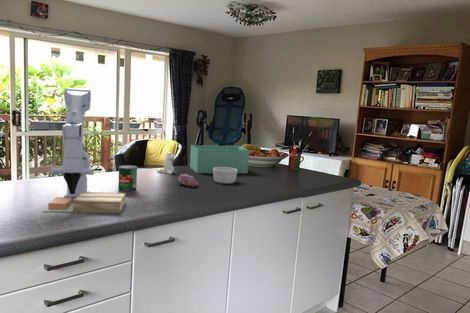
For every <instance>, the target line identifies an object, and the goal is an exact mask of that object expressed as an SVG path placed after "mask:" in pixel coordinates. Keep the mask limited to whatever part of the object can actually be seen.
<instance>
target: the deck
mask: <svg viewBox="0 0 470 313" xmlns="http://www.w3.org/2000/svg"><path fill="white" fill-rule="evenodd" d="M125 205H126V193H123V192H104V191H102V192H101V191H100V192H96V191H95V192H93V191H92V192H90V191H89V192H82V193H81V194H80V195H79V196H78V197H75V198H74V199H73V212H72V213H101V214H102V213H103V214H106V213H107V214H108V213H109V214H112V213H115V214H120V213H121V212H122V209H123V208H124V206H125Z"/></svg>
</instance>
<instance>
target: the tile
mask: <svg viewBox="0 0 470 313" xmlns="http://www.w3.org/2000/svg"><path fill="white" fill-rule="evenodd" d="M73 201H74V197H64V196H61V197H60V196H59V197H58V196H56V197H54V198H53V199H52V200H51V201H49V202H48V206H47V207H48V209H67V208H68V207H69V206H70V205H71V204H72V203H73Z"/></svg>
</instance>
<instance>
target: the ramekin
mask: <svg viewBox="0 0 470 313" xmlns="http://www.w3.org/2000/svg"><path fill="white" fill-rule="evenodd" d="M237 172H238V170H237V169H235V168H229V167H215V168H213V173H212V174H213V180H214V183H219V184H234V183H235V182H236V180H237V175H238V173H237Z"/></svg>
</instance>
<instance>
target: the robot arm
mask: <svg viewBox="0 0 470 313" xmlns="http://www.w3.org/2000/svg"><path fill="white" fill-rule="evenodd" d="M91 91H92V90H91V88H78V87H77V88H75V87H65V88H64V91H63V93H64V94H63V95H64V97H63V98H64V103H65V104H64V105H65V107H66V109H67V110H68V111H67V112H66V116H65V122H64V124H63V125H62V132H61V133H62V138H63V139H62V141H63V142H62V143H63V144H62V145H63V160H62V161H63V162H62V167H51V168H50V174H51V175H54V174H62V175H63V179H64V181H65V183H66V194H64V195H63V197H70V198H77V197H78V196H79V195H80V194H81V193H82V192H90V191H89V190H88V177H87V175H90V176H93V175H94V174H95V170H94V168H90V164H91V163H90V161H91V160H90V155H89V153H88V152H86V151H84V149H83V147H84V121H85V120H84V119H85V113H86V112H88V111H90V108H91V101H92V98H91V97H92V92H91Z"/></svg>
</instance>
